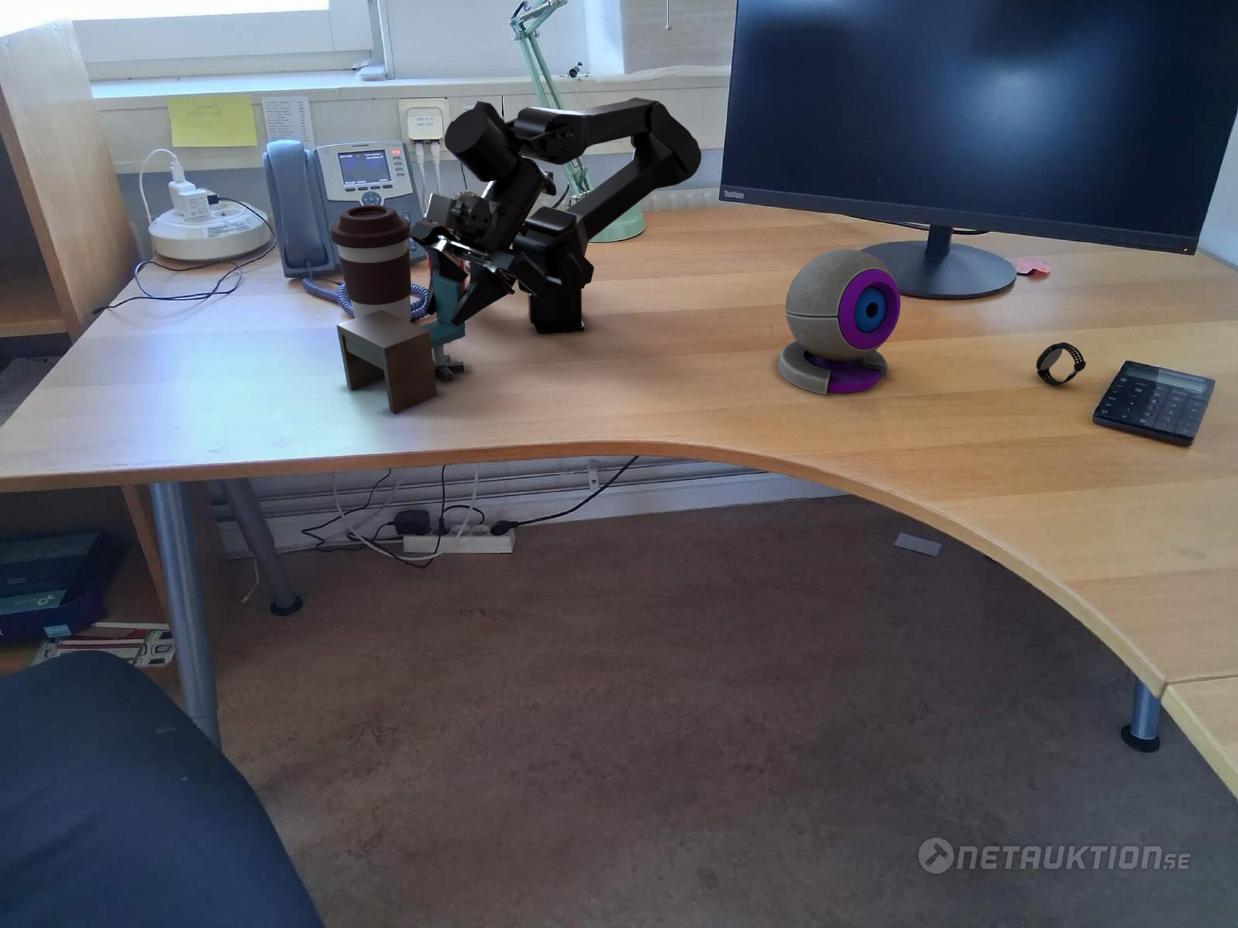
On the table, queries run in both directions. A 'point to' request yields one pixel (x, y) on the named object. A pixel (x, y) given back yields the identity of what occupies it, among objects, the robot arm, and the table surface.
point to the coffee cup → (374, 259)
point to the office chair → (445, 326)
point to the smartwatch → (1052, 356)
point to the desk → (389, 357)
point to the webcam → (839, 322)
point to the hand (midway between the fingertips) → (440, 319)
